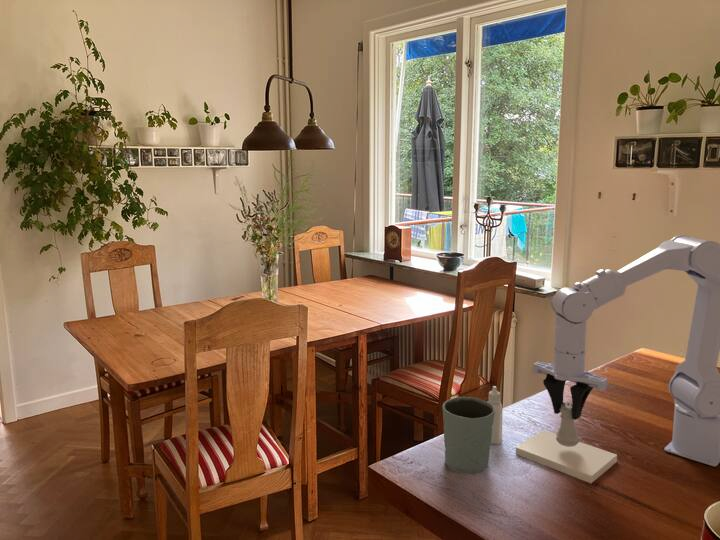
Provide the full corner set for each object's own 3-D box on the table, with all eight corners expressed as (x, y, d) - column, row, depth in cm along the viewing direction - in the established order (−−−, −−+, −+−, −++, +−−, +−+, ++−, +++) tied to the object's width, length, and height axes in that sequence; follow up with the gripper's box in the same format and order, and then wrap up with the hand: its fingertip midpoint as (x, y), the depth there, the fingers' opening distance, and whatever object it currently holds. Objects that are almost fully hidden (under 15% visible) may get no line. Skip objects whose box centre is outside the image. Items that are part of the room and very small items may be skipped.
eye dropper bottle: (509, 437, 127) (510, 385, 125) (496, 446, 123) (497, 393, 121) (491, 431, 130) (492, 380, 128) (478, 440, 126) (478, 388, 124)
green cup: (440, 450, 122) (440, 396, 120) (488, 450, 122) (489, 396, 120) (445, 476, 112) (445, 418, 110) (498, 475, 112) (499, 417, 110)
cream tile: (616, 461, 116) (617, 454, 115) (591, 483, 108) (591, 476, 108) (543, 435, 127) (543, 429, 127) (515, 454, 120) (515, 447, 120)
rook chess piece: (581, 439, 118) (582, 403, 116) (575, 449, 114) (576, 412, 113) (559, 434, 121) (559, 398, 119) (552, 444, 117) (553, 407, 115)
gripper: (525, 346, 116) (524, 410, 119) (596, 363, 106) (593, 433, 108) (543, 338, 121) (541, 400, 123) (613, 353, 110) (610, 420, 113)
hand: (567, 414), depth 116 cm, fingers closed on rook chess piece, 3 cm apart
